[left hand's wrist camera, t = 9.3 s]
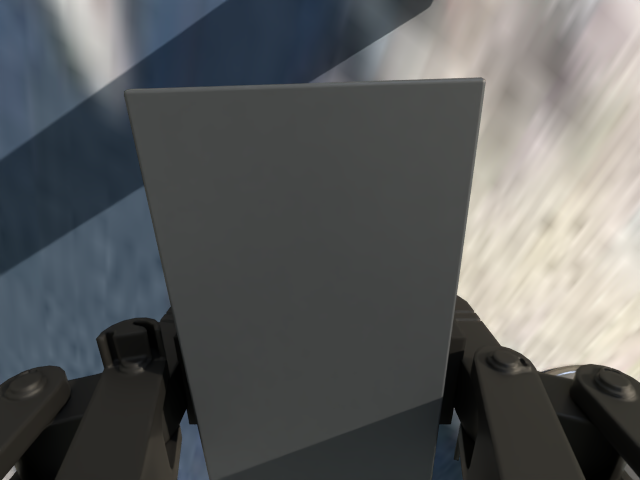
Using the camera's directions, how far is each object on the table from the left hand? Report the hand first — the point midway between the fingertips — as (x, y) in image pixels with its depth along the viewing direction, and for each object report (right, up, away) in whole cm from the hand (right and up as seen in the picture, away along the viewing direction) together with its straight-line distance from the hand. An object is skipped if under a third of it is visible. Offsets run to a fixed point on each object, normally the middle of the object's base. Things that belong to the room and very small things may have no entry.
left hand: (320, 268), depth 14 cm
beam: (+1, -21, +9) cm, 23 cm away
